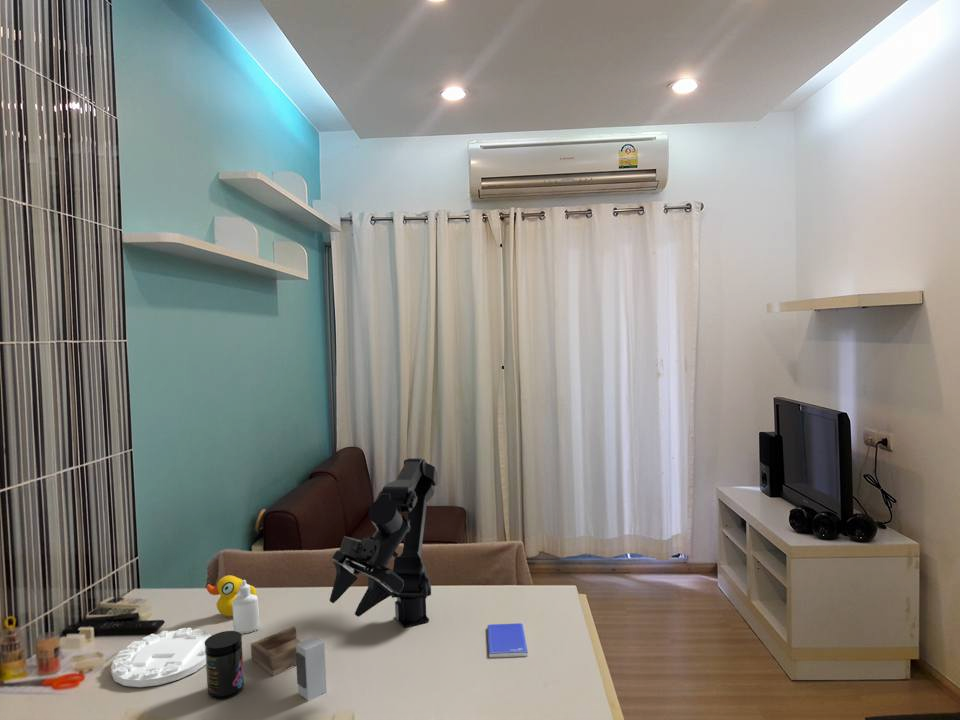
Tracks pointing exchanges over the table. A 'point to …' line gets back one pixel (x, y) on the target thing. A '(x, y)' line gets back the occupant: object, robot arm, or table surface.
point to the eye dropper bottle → (245, 610)
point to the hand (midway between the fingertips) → (343, 608)
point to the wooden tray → (276, 651)
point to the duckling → (227, 593)
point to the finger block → (311, 668)
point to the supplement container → (224, 664)
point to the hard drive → (506, 640)
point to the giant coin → (160, 658)
